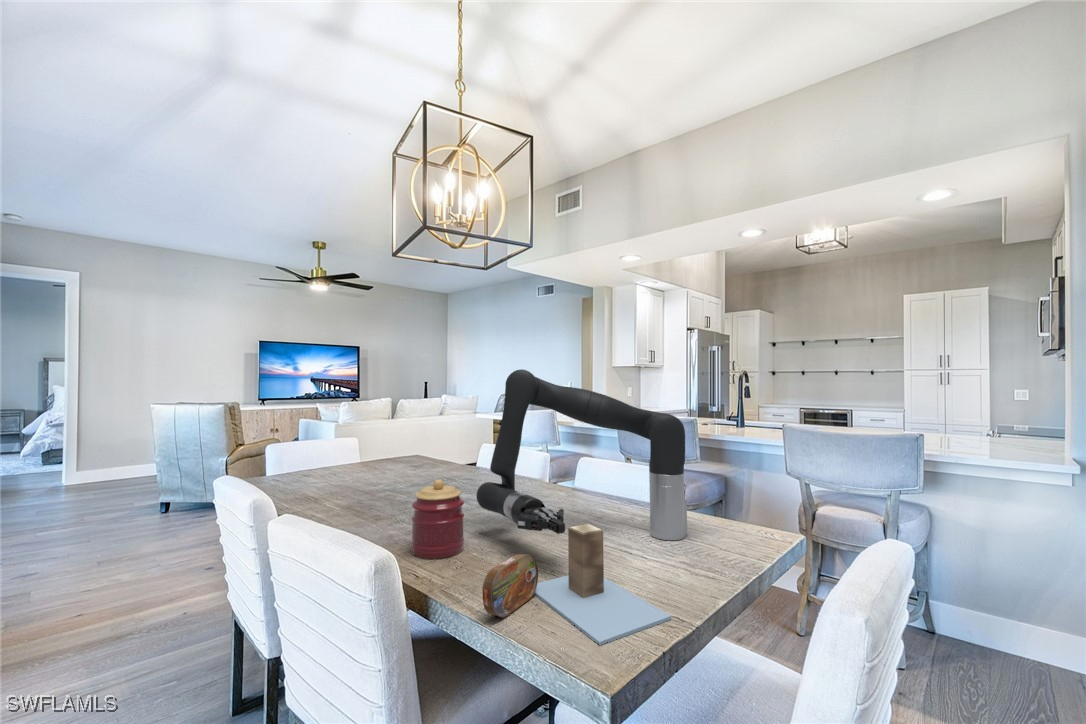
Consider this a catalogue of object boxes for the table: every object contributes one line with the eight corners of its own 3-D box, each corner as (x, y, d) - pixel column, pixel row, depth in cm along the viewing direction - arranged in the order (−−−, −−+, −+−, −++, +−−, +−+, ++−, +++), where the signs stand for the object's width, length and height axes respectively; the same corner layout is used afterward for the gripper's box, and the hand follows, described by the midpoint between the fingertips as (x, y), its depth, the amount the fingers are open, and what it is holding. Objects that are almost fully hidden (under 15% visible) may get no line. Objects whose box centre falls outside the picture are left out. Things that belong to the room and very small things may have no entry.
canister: (440, 563, 109) (440, 487, 109) (399, 554, 115) (400, 481, 116) (474, 546, 120) (474, 477, 121) (436, 538, 126) (436, 472, 127)
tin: (494, 625, 81) (492, 575, 81) (479, 621, 82) (478, 572, 83) (540, 592, 93) (538, 549, 94) (527, 589, 95) (525, 547, 96)
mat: (590, 572, 103) (590, 569, 103) (671, 619, 83) (671, 615, 83) (527, 588, 95) (527, 585, 95) (599, 645, 75) (599, 641, 75)
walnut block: (588, 583, 96) (588, 523, 97) (603, 592, 92) (603, 529, 93) (568, 588, 94) (568, 526, 94) (583, 598, 90) (582, 533, 90)
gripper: (499, 498, 112) (535, 515, 98) (546, 491, 119) (586, 506, 104) (499, 529, 112) (535, 552, 97) (546, 521, 119) (587, 541, 104)
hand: (562, 528), depth 101 cm, fingers closed
